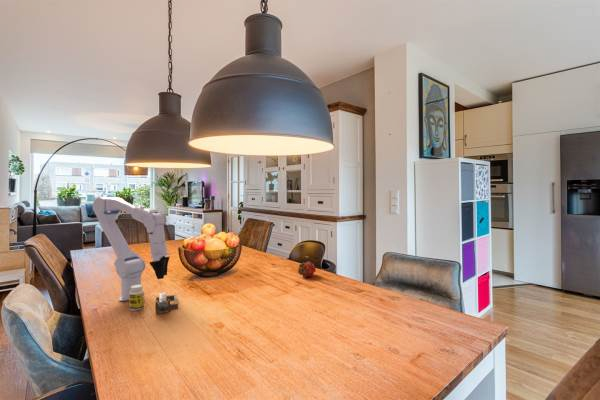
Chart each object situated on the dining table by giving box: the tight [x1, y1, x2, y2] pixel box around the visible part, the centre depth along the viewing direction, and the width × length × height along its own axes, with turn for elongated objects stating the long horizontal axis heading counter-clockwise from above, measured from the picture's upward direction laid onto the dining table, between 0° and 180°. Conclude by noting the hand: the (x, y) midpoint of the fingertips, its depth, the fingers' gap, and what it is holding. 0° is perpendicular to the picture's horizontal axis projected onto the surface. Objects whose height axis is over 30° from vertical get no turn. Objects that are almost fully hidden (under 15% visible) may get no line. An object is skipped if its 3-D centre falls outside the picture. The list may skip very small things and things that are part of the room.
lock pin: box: [158, 291, 168, 311], centre depth 113 cm, size 13×3×3 cm, turn 24°
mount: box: [154, 294, 179, 315], centre depth 116 cm, size 14×8×4 cm, turn 24°
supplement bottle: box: [128, 284, 145, 312], centre depth 113 cm, size 5×5×8 cm
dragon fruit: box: [297, 261, 317, 278], centre depth 157 cm, size 8×8×12 cm
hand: (162, 277), depth 121 cm, fingers open, 7 cm apart
